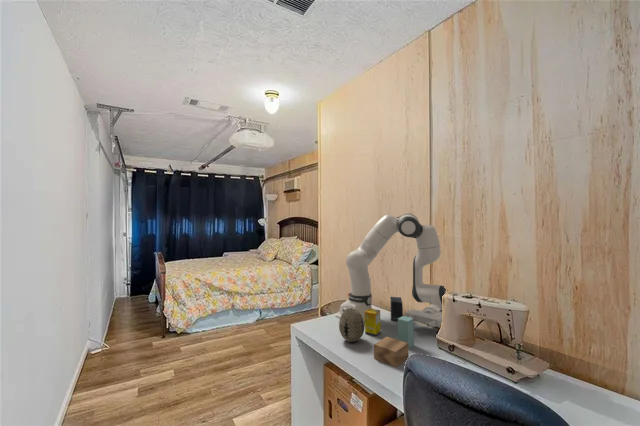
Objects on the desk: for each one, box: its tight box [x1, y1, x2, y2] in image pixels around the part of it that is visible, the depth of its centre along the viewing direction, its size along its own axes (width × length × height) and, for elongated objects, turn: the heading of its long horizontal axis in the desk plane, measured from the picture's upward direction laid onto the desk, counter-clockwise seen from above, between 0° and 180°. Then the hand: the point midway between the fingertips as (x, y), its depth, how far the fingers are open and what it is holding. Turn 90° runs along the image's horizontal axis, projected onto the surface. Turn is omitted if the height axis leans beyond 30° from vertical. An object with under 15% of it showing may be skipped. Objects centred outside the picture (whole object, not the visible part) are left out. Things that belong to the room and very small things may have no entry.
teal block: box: [397, 315, 415, 350], centre depth 129 cm, size 5×5×12 cm
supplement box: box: [364, 308, 382, 337], centre depth 143 cm, size 6×6×11 cm
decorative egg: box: [338, 308, 365, 343], centre depth 135 cm, size 12×12×15 cm
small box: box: [390, 296, 404, 322], centre depth 163 cm, size 11×6×10 cm, turn 168°
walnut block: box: [373, 336, 410, 368], centre depth 118 cm, size 10×10×6 cm
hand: (418, 322), depth 137 cm, fingers open, 8 cm apart
